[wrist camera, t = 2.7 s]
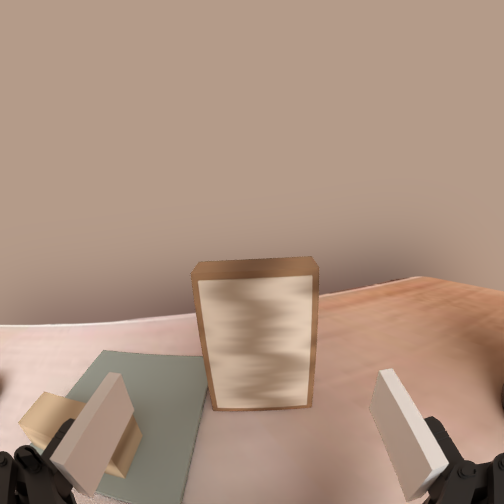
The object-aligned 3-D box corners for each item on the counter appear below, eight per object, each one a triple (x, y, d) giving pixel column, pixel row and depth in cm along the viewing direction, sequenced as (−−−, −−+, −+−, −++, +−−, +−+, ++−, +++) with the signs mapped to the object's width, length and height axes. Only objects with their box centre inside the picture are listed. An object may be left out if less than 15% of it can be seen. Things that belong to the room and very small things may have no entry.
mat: (214, 359, 31) (214, 356, 31) (179, 513, 12) (177, 511, 12) (104, 353, 32) (103, 350, 32) (24, 460, 13) (21, 456, 12)
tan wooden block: (142, 435, 19) (132, 412, 18) (125, 478, 14) (110, 457, 13) (56, 413, 19) (44, 391, 18) (34, 445, 14) (18, 422, 14)
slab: (307, 387, 26) (311, 256, 22) (311, 408, 23) (319, 267, 19) (217, 390, 26) (199, 261, 23) (213, 411, 23) (190, 274, 20)
